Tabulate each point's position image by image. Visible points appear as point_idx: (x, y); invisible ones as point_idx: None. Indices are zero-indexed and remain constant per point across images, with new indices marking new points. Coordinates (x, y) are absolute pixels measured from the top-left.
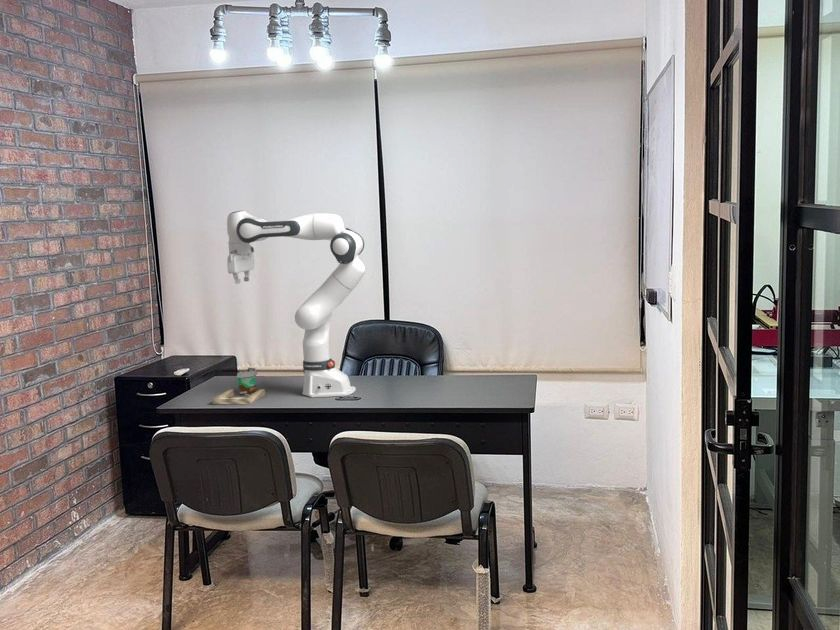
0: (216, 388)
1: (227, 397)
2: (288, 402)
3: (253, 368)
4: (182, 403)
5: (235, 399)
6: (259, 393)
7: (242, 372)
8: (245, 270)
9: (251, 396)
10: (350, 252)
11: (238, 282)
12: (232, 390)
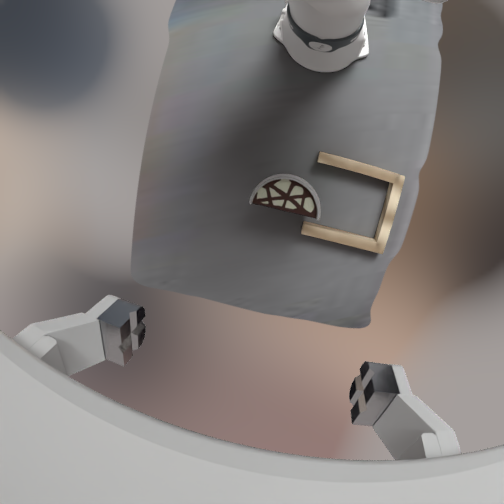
0: (228, 270)
1: (337, 229)
2: (398, 97)
3: (260, 187)
4: (346, 308)
5: (396, 205)
6: (350, 159)
7: (293, 210)
8: (203, 442)
9: (387, 172)
10: None
11: (402, 373)
12: (310, 225)
